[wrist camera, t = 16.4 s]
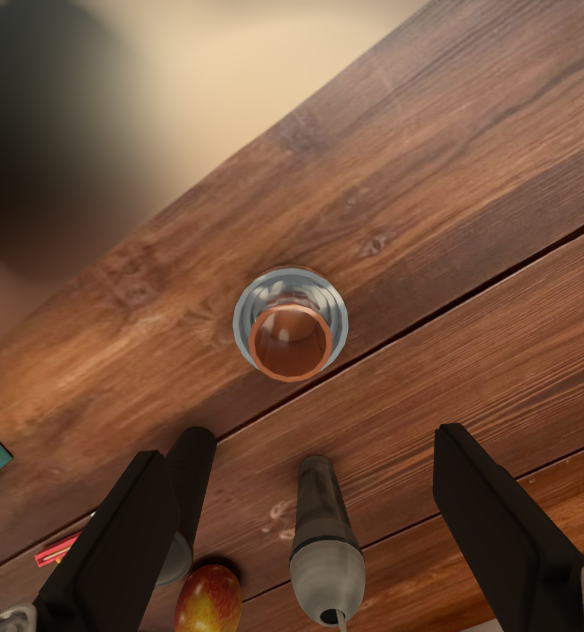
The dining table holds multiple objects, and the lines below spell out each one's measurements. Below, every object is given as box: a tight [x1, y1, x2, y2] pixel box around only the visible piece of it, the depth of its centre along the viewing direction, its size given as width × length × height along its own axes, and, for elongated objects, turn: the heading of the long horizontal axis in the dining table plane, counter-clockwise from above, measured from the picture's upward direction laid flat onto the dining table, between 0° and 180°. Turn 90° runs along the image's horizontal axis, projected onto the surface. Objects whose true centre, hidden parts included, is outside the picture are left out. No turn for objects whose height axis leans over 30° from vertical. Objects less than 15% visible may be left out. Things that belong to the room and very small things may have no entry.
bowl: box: [233, 264, 349, 372], centre depth 30 cm, size 11×11×5 cm
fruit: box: [175, 564, 242, 632], centre depth 40 cm, size 10×9×8 cm
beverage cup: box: [289, 455, 365, 632], centre depth 28 cm, size 7×7×20 cm
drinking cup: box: [155, 427, 217, 587], centre depth 27 cm, size 8×8×20 cm
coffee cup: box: [248, 285, 332, 382], centre depth 27 cm, size 7×7×9 cm
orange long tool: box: [34, 510, 97, 567], centre depth 39 cm, size 24×2×5 cm
